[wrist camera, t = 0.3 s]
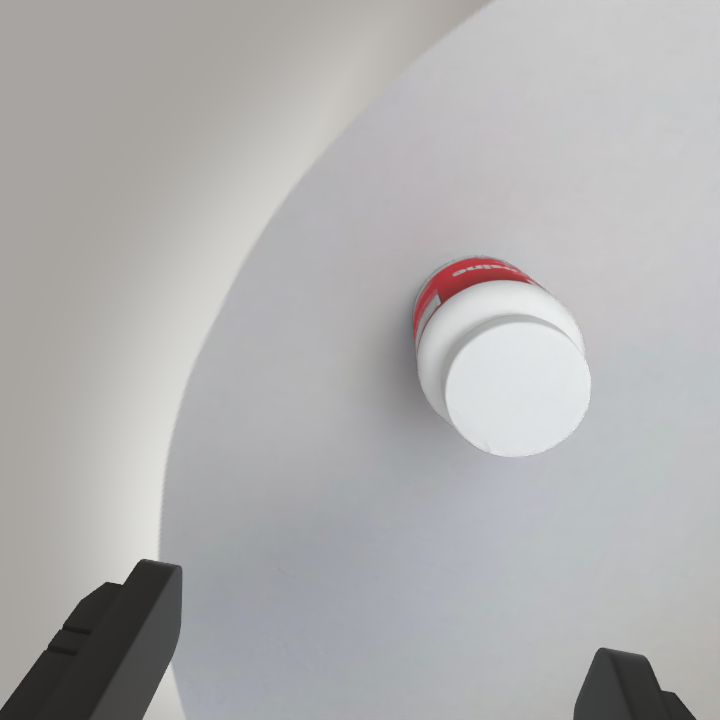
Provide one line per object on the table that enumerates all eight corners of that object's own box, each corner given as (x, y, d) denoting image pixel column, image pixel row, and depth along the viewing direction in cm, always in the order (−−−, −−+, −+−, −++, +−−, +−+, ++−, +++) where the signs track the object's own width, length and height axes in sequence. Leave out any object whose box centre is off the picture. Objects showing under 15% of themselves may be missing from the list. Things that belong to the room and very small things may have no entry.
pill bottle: (557, 281, 28) (654, 343, 18) (503, 389, 30) (561, 504, 20) (440, 234, 28) (468, 269, 17) (392, 346, 30) (392, 440, 19)
